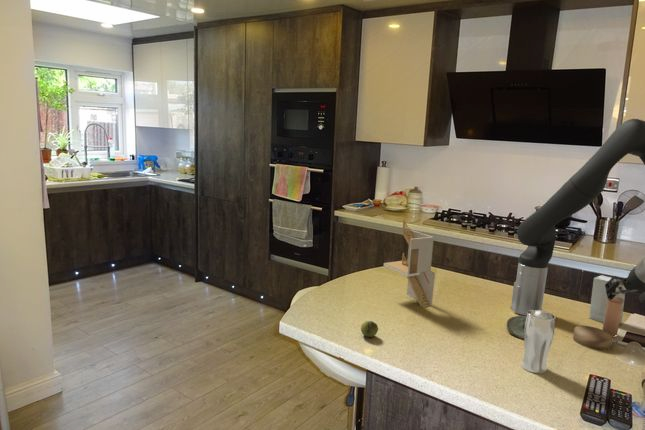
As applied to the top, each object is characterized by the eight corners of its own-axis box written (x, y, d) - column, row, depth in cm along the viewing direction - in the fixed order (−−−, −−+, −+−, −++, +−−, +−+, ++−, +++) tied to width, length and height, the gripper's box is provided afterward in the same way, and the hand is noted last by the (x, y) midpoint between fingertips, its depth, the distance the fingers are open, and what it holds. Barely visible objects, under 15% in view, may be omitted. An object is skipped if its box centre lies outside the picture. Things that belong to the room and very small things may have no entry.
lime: (358, 335, 135) (359, 319, 134) (371, 332, 137) (372, 316, 136) (367, 341, 131) (368, 325, 130) (380, 338, 134) (381, 322, 133)
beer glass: (514, 361, 124) (521, 308, 121) (538, 361, 125) (546, 309, 122) (527, 374, 117) (535, 319, 114) (553, 374, 118) (562, 320, 115)
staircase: (410, 311, 156) (417, 228, 151) (381, 295, 170) (387, 219, 165) (431, 307, 161) (439, 226, 156) (401, 292, 175) (408, 217, 170)
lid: (543, 332, 144) (545, 317, 143) (541, 344, 135) (543, 328, 134) (507, 324, 149) (509, 309, 148) (503, 335, 140) (505, 319, 139)
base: (579, 347, 134) (581, 337, 134) (568, 333, 144) (569, 324, 143) (617, 351, 133) (618, 342, 132) (602, 337, 142) (604, 328, 142)
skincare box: (621, 323, 154) (629, 281, 151) (612, 327, 151) (620, 283, 148) (595, 314, 161) (602, 274, 158) (586, 317, 158) (593, 276, 155)
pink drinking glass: (604, 336, 143) (611, 299, 141) (599, 330, 147) (605, 295, 145) (619, 338, 142) (626, 301, 140) (613, 332, 146) (620, 296, 144)
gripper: (676, 263, 124) (648, 289, 138) (619, 258, 127) (596, 284, 140) (684, 288, 120) (654, 313, 133) (624, 282, 123) (600, 307, 136)
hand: (624, 298), depth 137 cm, fingers open, 8 cm apart
